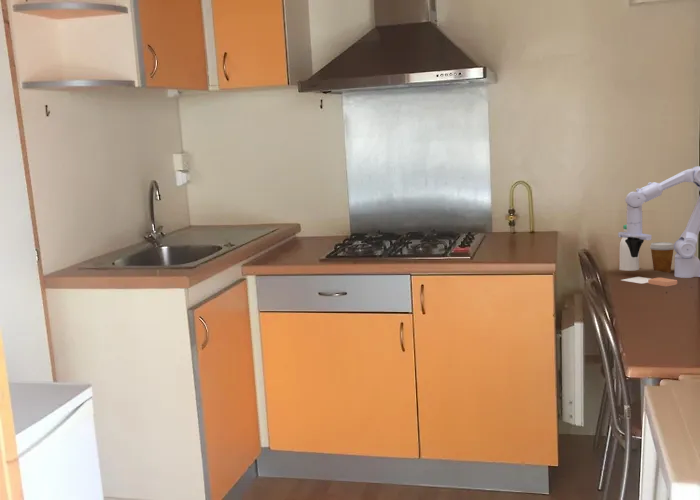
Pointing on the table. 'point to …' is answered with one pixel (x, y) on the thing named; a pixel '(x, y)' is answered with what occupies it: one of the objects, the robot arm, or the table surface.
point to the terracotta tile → (662, 281)
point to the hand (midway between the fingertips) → (634, 256)
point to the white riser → (637, 280)
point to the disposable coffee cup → (662, 256)
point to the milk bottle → (627, 256)
